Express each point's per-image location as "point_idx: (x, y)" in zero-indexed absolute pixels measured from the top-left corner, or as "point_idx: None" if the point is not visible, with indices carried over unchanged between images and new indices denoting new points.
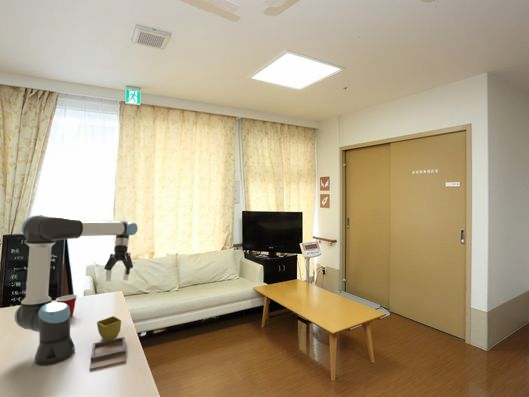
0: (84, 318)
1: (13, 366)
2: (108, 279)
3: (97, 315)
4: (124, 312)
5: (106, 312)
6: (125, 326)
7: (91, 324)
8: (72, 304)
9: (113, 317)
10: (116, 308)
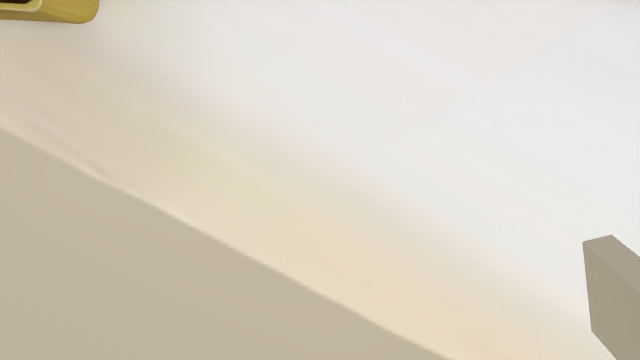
0: (629, 31)
1: None
2: (607, 300)
3: (586, 144)
4: (418, 334)
5: (580, 237)
6: (138, 158)
7: (426, 6)
8: None
9: (31, 5)
10: (591, 355)
